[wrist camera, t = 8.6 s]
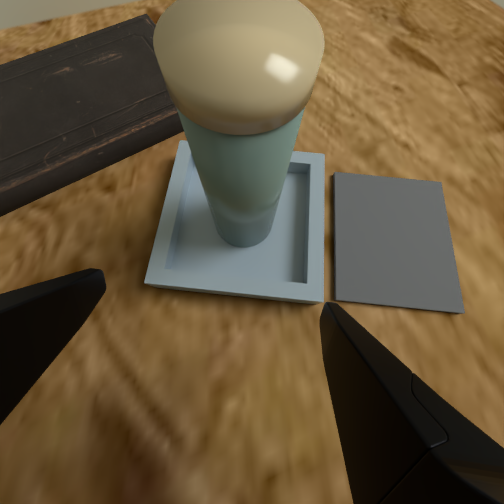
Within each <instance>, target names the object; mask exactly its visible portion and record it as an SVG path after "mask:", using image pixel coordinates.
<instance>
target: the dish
mask: <svg viewBox="0 0 504 504" xmlns="http://www.w3.org/2000/svg"><path fill="white" fill-rule="evenodd" d="M144 283H145V284H148V285H150V286H153V287H156V288H166V289H175V290H184V291H194V292H203V293H212V294H222V295H231V296H241V297H250V298H259V299H269V300H278V301H287V302H297V303H306V304H315V305H316V304H319V303H322V302H324V154H319V153H308V152H298V151H293V152H292V156H291V160H290V163H289V167H288V171H287V174H286V178H285V182H284V185H283V189H282V193H281V196H280V200H279V203H278V207H277V211H276V214H275V218H274V222H273V225H272V229H271V231H270V233H269V235H268V236H267V238H266V239H265V240H264V241H262V242H261V243H259V244H257V245H255V246H252V247H236V246H233V245H230V244H229V243H227V242H226V241H224V240H223V239H222V238H221V237H220V235H219V234H218V232H217V230H216V227H215V224H214V221H213V218H212V215H211V212H210V209H209V206H208V202H207V199H206V196H205V193H204V190H203V187H202V184H201V181H200V178H199V175H198V172H197V169H196V166H195V163H194V160H193V157H192V154H191V150H190V147H189V144H188V141H182V140H180V143H179V147H178V150H177V154H176V158H175V162H174V166H173V170H172V174H171V178H170V182H169V186H168V190H167V194H166V198H165V202H164V206H163V210H162V214H161V218H160V222H159V226H158V230H157V233H156V237H155V241H154V245H153V249H152V253H151V257H150V261H149V265H148V269H147V273H146V277H145V281H144Z"/></svg>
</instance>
